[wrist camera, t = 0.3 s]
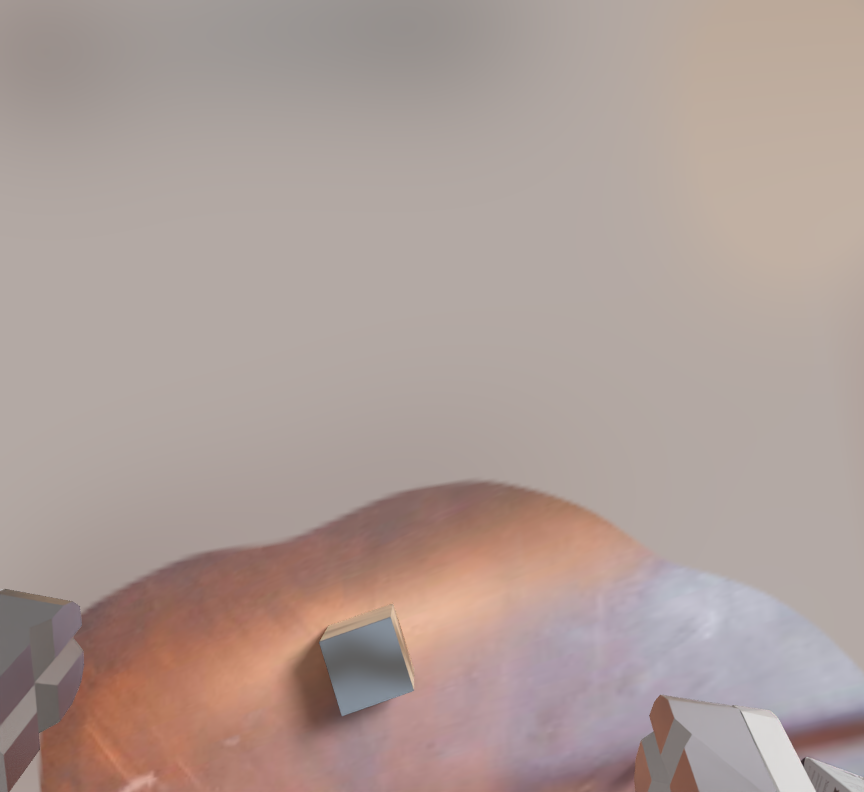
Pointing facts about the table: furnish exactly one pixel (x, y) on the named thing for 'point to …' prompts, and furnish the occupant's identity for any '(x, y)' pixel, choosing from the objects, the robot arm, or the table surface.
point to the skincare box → (832, 778)
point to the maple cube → (367, 659)
